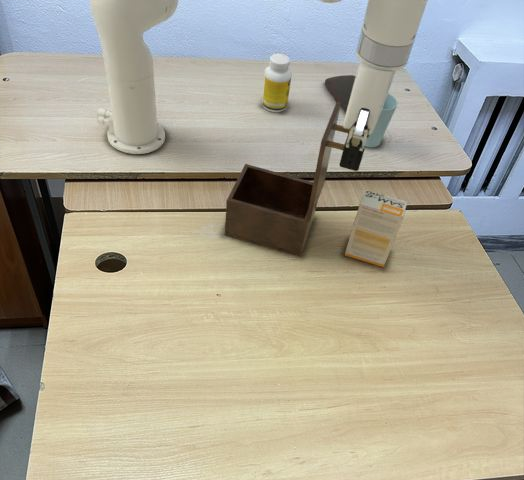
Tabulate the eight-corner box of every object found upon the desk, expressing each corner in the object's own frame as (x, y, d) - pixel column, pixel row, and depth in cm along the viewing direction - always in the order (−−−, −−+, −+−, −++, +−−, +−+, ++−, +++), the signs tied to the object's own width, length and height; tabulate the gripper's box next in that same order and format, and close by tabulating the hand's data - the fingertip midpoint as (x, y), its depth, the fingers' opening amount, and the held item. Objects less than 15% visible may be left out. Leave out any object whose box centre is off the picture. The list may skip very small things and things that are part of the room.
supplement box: (387, 252, 108) (409, 201, 97) (383, 268, 105) (404, 217, 94) (348, 239, 108) (365, 187, 98) (343, 255, 106) (359, 203, 95)
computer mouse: (346, 81, 143) (350, 66, 140) (371, 110, 136) (376, 95, 133) (320, 85, 140) (323, 70, 137) (344, 114, 134) (347, 99, 130)
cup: (369, 127, 132) (381, 86, 123) (390, 144, 129) (404, 104, 120) (346, 136, 129) (357, 95, 120) (368, 154, 126) (380, 113, 117)
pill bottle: (284, 115, 131) (291, 68, 121) (258, 110, 131) (263, 62, 121) (289, 101, 135) (296, 54, 125) (264, 96, 135) (269, 49, 125)
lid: (321, 139, 83) (353, 147, 83) (336, 101, 90) (366, 108, 89) (306, 220, 97) (333, 227, 96) (320, 182, 103) (346, 188, 103)
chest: (224, 235, 106) (226, 199, 98) (242, 198, 112) (245, 163, 105) (300, 256, 104) (307, 222, 97) (313, 219, 111) (321, 184, 104)
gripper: (369, 14, 81) (342, 117, 95) (347, 69, 71) (321, 175, 85) (417, 26, 80) (383, 128, 94) (401, 83, 70) (366, 188, 85)
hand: (354, 151), depth 90 cm, fingers open, 9 cm apart
